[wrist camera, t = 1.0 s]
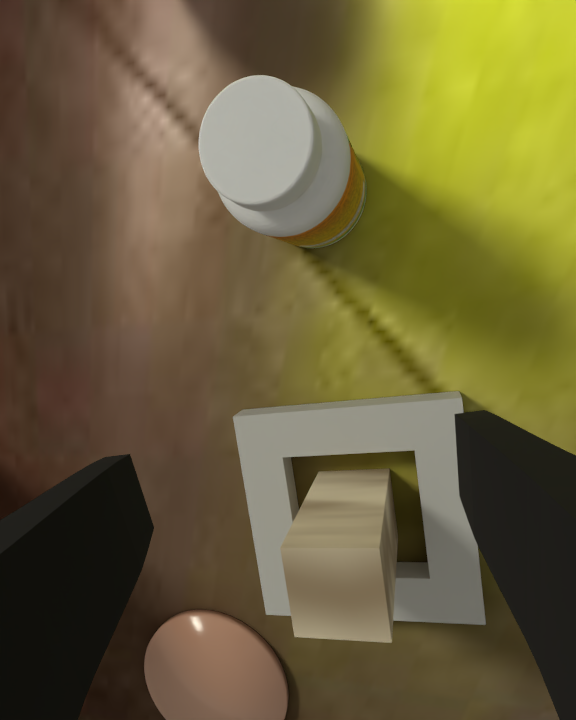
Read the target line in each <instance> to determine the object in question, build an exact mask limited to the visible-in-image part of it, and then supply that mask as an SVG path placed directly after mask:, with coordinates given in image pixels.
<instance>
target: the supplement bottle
mask: <svg viewBox="0 0 576 720" xmlns="http://www.w3.org/2000/svg"><path fill="white" fill-rule="evenodd" d="M199 155H200V161H201V164H202V167H203V170H204V172H205V174H206V176H207V178H208V180H209V181H210V183H211V184H212V186H213V187H214V188H215V189H216V190H217V191H218V193H219V195H220V197H221V200H222V202H223V203H224V205H225V206H226V208H227V209H228V210H229V212H230V213H231V214H232V215H233V216H234V217H235V218H236V219H237V220H238V221H239V222H241V223H242V224H243V225H245V226H246V227H248V228H250V229H252V230H254V231H256V232H259V233H261V234H264V235H266V236H270V237H273V238H276V239H279V240H282V241H284V242H287V243H290V244H293V245H296V246H300V247H305V248H320V247H325V246H328V245H331V244H333V243H335V242H337V241H339V240H341V239H342V238H343V237H345V236H346V235H347V234H348V233H349V232H350V231H351V230H352V229H353V228H354V226H355V225H356V223H357V222H358V220H359V218H360V217H361V214H362V212H363V209H364V206H365V201H366V180H365V175H364V172H363V169H362V167H361V164H360V162H359V160H358V158H357V156H356V154H355V152H354V150H353V148H352V145H351V143H350V141H349V139H348V136H347V134H346V132H345V130H344V128H343V125H342V124H341V122H340V120H339V118H338V117H337V115H336V114H335V112H334V111H333V110H332V109H331V108H330V106H329V105H328V104H327V103H326V102H324V101H323V100H322V99H321V98H319V97H318V96H316V95H315V94H313V93H311V92H309V91H307V90H304V89H301V88H298V87H292V86H291V85H289V84H288V83H286V82H285V81H283V80H281V79H278V78H275V77H272V76H266V75H255V76H248V77H245V78H242V79H239V80H237V81H235V82H233V83H232V84H230V85H228V86H227V87H226V88H224V89H223V90H222V91H221V92H220V93H219V94H218V95H217V96H216V97H215V99H214V100H213V101H212V102H211V104H210V106H209V107H208V109H207V111H206V113H205V115H204V118H203V121H202V124H201V128H200V133H199Z"/></svg>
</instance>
